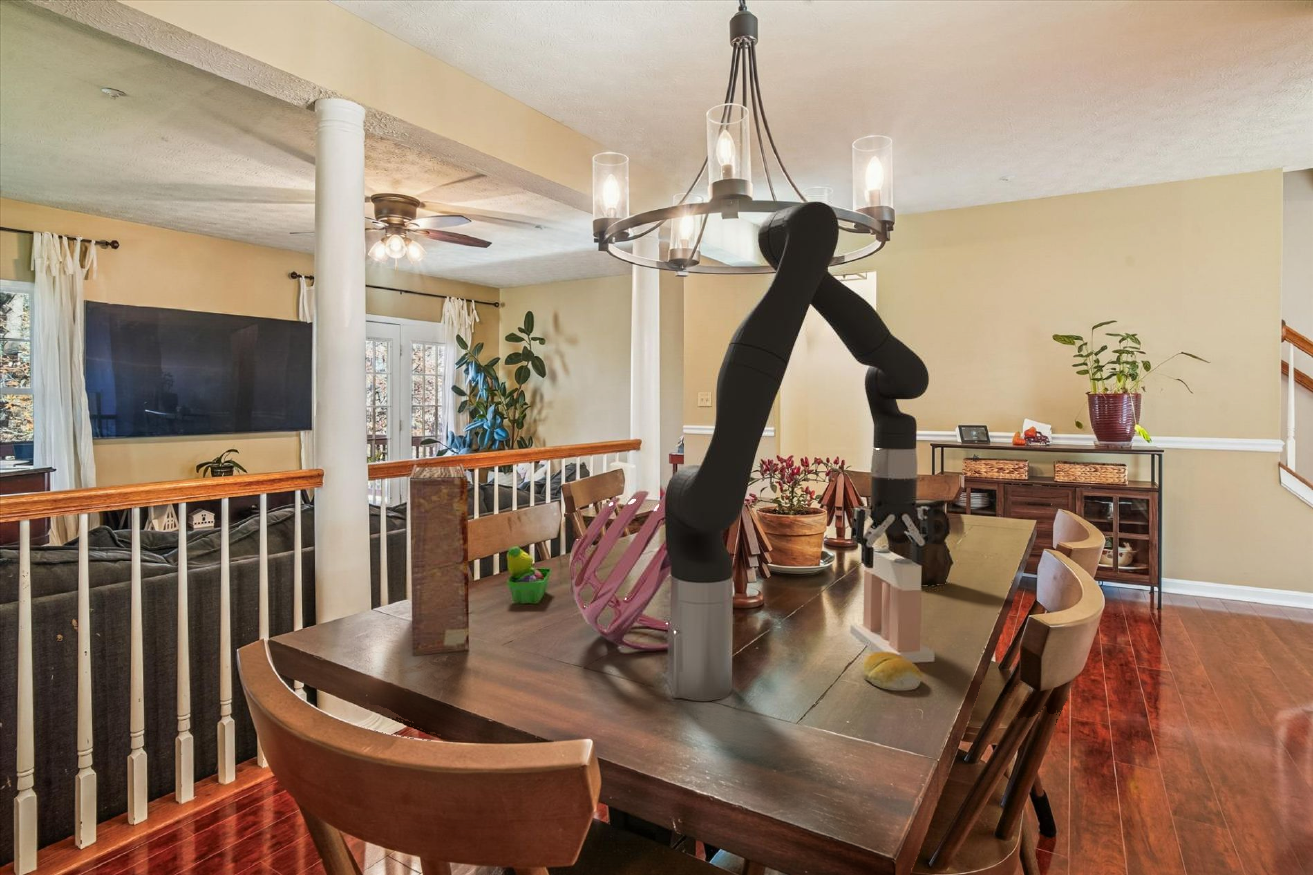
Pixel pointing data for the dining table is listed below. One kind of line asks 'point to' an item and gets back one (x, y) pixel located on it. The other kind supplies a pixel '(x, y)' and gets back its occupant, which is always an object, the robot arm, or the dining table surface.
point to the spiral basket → (621, 572)
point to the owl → (928, 545)
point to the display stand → (892, 620)
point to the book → (439, 559)
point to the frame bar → (896, 570)
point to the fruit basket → (525, 577)
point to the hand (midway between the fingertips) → (891, 566)
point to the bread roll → (891, 672)
